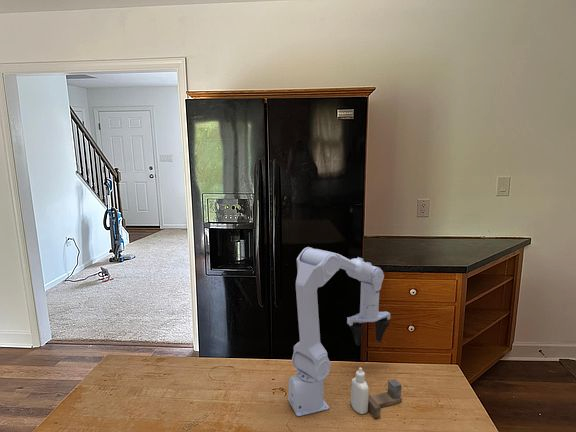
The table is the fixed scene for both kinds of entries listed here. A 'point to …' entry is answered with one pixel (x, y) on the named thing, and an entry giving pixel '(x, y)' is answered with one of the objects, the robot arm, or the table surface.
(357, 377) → the eye dropper bottle
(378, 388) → the table surface
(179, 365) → the table surface
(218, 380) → the table surface
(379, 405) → the grey hook bracket
